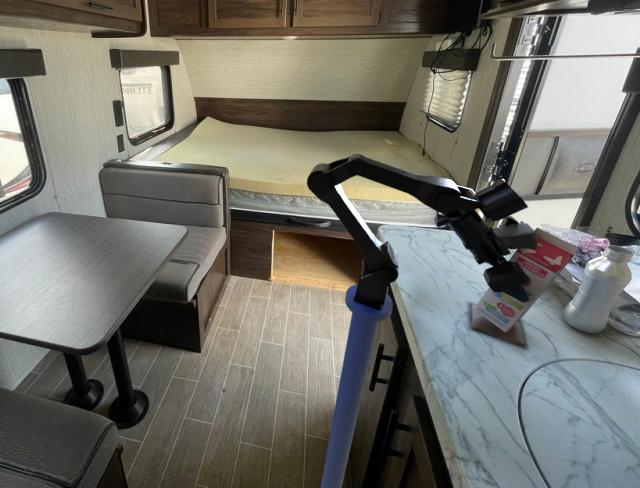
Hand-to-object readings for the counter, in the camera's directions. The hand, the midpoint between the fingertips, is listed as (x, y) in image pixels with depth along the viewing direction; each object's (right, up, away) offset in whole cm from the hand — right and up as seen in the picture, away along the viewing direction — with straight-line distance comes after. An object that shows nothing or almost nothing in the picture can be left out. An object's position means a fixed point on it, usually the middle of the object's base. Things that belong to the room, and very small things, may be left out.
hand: (517, 287), depth 68 cm
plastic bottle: (+18, -10, +4) cm, 21 cm away
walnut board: (-1, -10, +4) cm, 11 cm away
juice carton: (-2, -8, +4) cm, 9 cm away
